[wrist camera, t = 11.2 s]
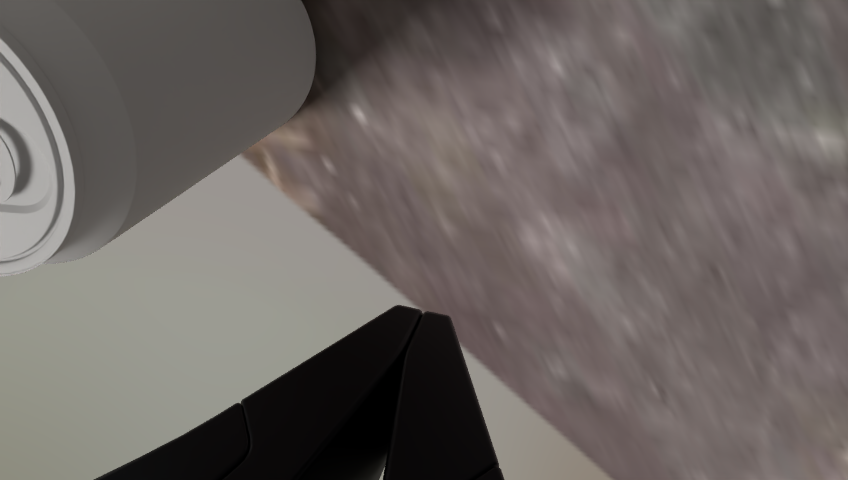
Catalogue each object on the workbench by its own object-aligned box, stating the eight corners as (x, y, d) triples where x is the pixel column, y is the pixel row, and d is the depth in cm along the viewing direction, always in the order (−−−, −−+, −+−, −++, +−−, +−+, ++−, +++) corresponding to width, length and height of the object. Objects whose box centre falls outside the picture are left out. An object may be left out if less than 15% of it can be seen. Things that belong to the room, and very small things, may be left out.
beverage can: (160, -85, 20) (-280, -106, 10) (342, -25, 20) (90, 20, 9) (150, 98, 23) (-194, 233, 13) (307, 153, 23) (87, 338, 12)
